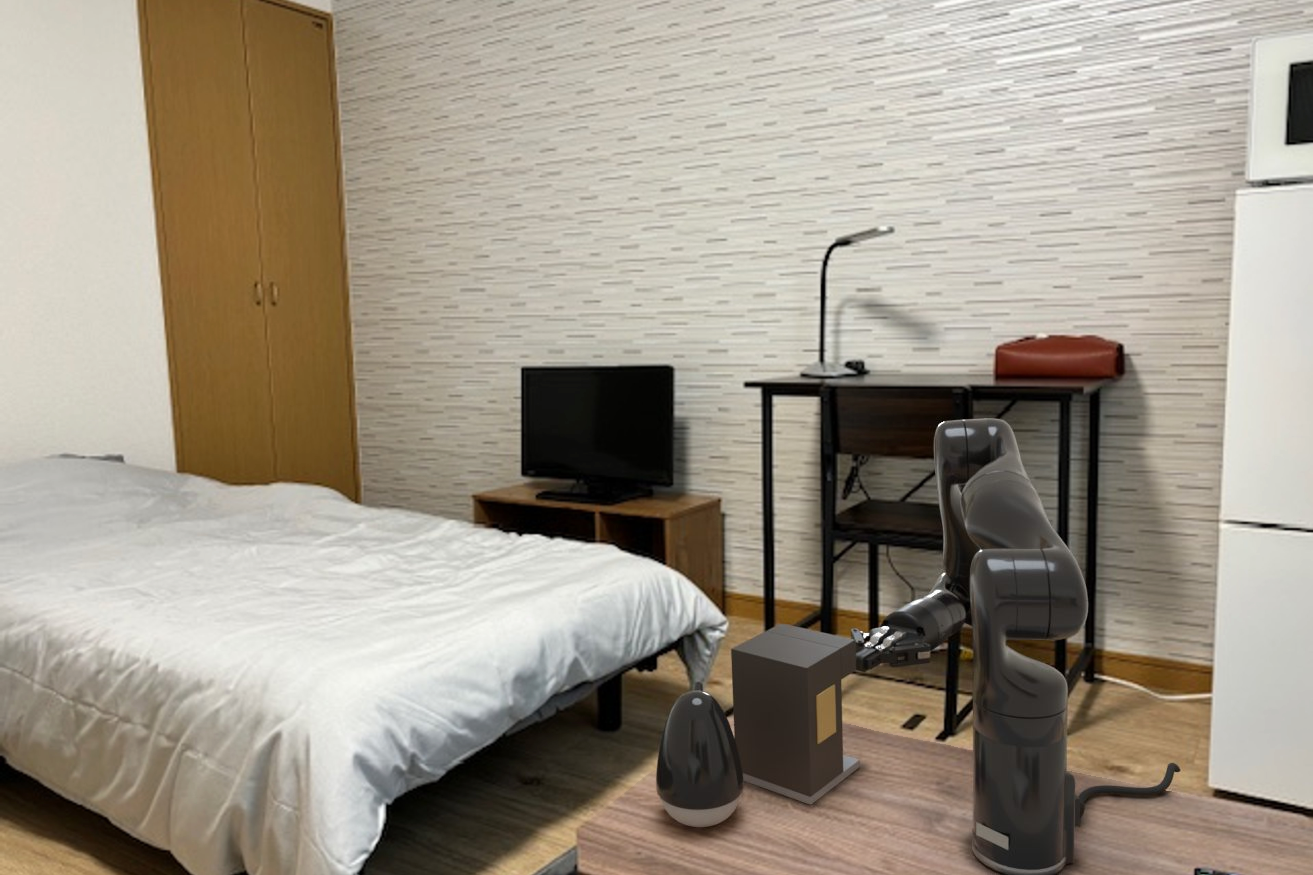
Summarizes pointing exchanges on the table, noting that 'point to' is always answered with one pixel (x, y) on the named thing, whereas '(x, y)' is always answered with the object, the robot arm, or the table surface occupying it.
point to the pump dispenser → (698, 762)
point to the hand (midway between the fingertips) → (858, 664)
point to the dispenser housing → (792, 710)
